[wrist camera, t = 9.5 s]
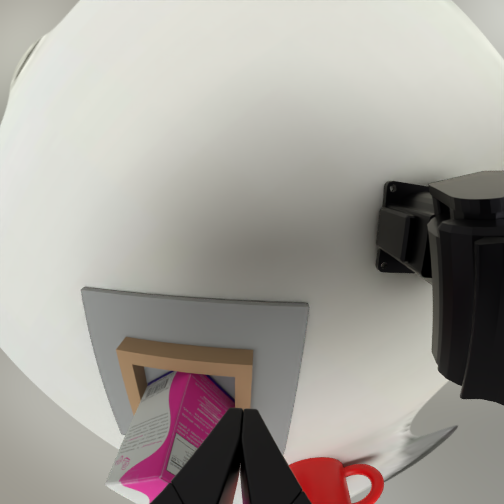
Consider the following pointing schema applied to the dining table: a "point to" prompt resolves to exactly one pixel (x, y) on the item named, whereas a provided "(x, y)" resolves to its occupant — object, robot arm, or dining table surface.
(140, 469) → the supplement box
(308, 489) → the mug
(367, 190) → the dining table surface
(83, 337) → the dining table surface
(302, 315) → the holder
